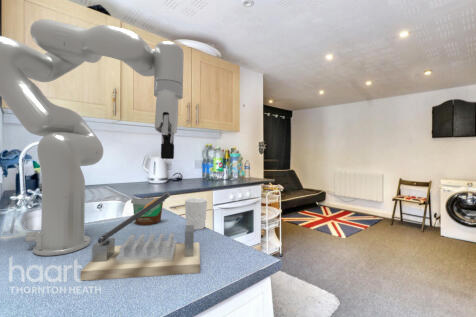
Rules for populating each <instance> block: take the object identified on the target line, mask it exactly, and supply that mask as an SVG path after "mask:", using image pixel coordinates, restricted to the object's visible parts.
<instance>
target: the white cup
mask: <svg viewBox="0 0 476 317" xmlns="http://www.w3.org/2000/svg"><path fill="white" fill-rule="evenodd" d="M184 204H185V206H184V207H185V208H184V209H185V210H184V211H185V213H184V214H185V222H186V223H185V224H186V225H194V231H198V230H197V229H199V230H203V229H204V228H206V219H207V210H208V209H207V207H208V206H207V205H208V199H206V198H205V197H204V198H202V197H191V198H186V199H185V200H184ZM186 225H185V226H186Z"/></svg>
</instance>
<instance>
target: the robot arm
mask: <svg viewBox="0 0 476 317" xmlns="http://www.w3.org/2000/svg"><path fill="white" fill-rule="evenodd" d="M29 33H30V36H31V38H32V40H33V42H34V43H35V44H36V45H37V46H38V47H39V48H41V49H42V50H44V51H45V53H42V52H40V51H38V50H36V49H35V48H32V47H30V46H28V45H27V44H25V43H22V42H20V41H19V40H16V39H14V38H11V37H7V36H3V35H0V97H1V98H2V100H3V101H4V102H5V104H6V105H7V107H8V108H9V109H10V111H11V112H12V113H13V115H14V116H15V117H16V118H17V120H18V121H19V123H21V126H23V128H24V129H25V130H26V131H27V132H29V133H30V134H32V135H34V136H38V137H42V138H41V139H40V140H39V142H38V144H37V149H36V150H37V151H36V152H37V157H38V162H39V166H40V167H39V168H40V173H41V220H40V221H41V229H40V230H41V231H40V232H38V231H37V232H33V231H32V232H28V233H27V234H26V236H25V242H27V243H32V242H35V243H36V244H35V245H34V246H33V249H32V253H34V255H37V256H42V257H43V256H46V257H48V256H49V257H50V256H60V255H65V254H70V253H73V252H76V251H78V250H82V249H84V248H86V247H87V246H89V245H90V244H91V237H90V236H88V235H85V217H86V216H85V212H86V211H85V210H86V209H85V208H86V207H85V206H86V203H85V202H86V182H85V177H84V173H83V170H82V168H81V167H87V166H94V165H97V164H98V163H99V162H100V161H101V160H102V158H103V156H104V147H103V144H102V142H101V141H100V139H99V138H98V136H97V135H96V134H95V133H94V131H93V129H92V128H90V126H89V124H87V122H86V121H85V120H84V118H83V116H81V115H80V114H79V113H77V112H76V111H74V110H72V109H69V108H67V107H63V106H59V105H57V104H54V103H53V102H51V101H50V100H49V99H48V97H46V96H45V95H44V93H43V91H42V90H41V89H40V88H39V87H38V86H37V84H35V83H34V82H33V81H36V82H39V83H50V82H54V81H56V80H58V79H59V78H61V77H63V76H64V75H66V74H68V73H70V72H71V71H72V70H74V69H76V68H78V67H79V66H81V65H83V64H84V63H85V62H87V63H90V64H95V63H97V62H99V61H100V60H101V59H102V57H107V58H111V59H114V60H118V61H121V62H123V63H124V64H125V65H127V66H128V67H129V68H131V69H132V70H133V71H135V72H136V74H138V75H140V76H142V77H154V80H153V96H154V97H155V98H156V100H155V114H154V115H155V116H154V130H155V131H156V132H157V133H159V134H161V144H160V159H162V160H173V159H174V158H175V144H174V141H175V140H174V138H175V134H177V133H178V121H179V101H180V100H182V99H183V98H184V50H183V47H181V45H179V44H178V43H176V42H172V41H169V40H166V41H165V40H164V41H159V42H157V43H156V44H155V47H154V48H153V47H150V45H149V44H148V43H147V42H146V41H145V40H144V39H143V38H142V37H141V36H140V35H139V34H137V33H136V32H134V31H131V30H128V29H125V28H121V27H117V26H113V25H108V24H99V25H95V26H92V27H90V28H86V27H83V26H78V25H73V24H69V23H66V22H61V21H57V20H53V19H43V18H41V19H38V20H35V21H33V23H32V24H31V25H30V32H29ZM32 80H33V81H32Z"/></svg>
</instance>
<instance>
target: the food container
mask: <svg viewBox="0 0 476 317" xmlns="http://www.w3.org/2000/svg"><path fill="white" fill-rule="evenodd" d="M155 198H156V197H142V198H137V197H134V196H132V198H131V200H130V203H131V204H132V208H133V215H134V214H136V213H137V212H139V211H140V210H142V209H143V208H144V206H145V205H146V204H148V203H149V202H151V201H152V200H154V199H155ZM165 201H166V199H165V200H164V201H162V202H161V203H159V204H158V205H157V206H155V207H154V208H152V209H151V210H149V211H148V212H146V213H145V214H143V215H142V216H140V217H139V218H137V219H136V220H134V221H133V222H134V224H135V225H137V226H153V224H154V225H157V224H160V223H161V220H162V213H163V207H164V206H163V205H164V202H165Z"/></svg>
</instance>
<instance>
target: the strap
mask: <svg viewBox="0 0 476 317" xmlns="http://www.w3.org/2000/svg"><path fill="white" fill-rule="evenodd" d="M170 196H171V193H170V192H169V191H167V192H166V193H164V194H163V195H161V196H160V197H154V198H155V199H154V200H152V201H151V202H149V203H148V204H146V205H145V206H144V208H143V209H142V210H140V211H139V212H137V213H136V214H134V213H133V214H132V215H131V216H130V217H128V218H127V219H125V220H123V221H122V222H121V223H119V224H118V225H117V226H115V227H113V228H112V229H110V230H108V231H107V232H105V233H104V234H102V235H101V236H100V237H99V238H98V239H97V242H98V243H103V242H104V241H105V240H106V239H108V238H112V236H113V235H116V233H118V232H119V231H120V230H123V229H125V227H127V226H128V225H130V224H131V223H133V222H135V221H134V220H136V219H137V218H139V217H140V216H142V215H143V214H145V213H146V212H148V211H149V210H151V209H152V208H154V207H155V206H157V205H158V204H159V203H161V202H162V201H164V200H165V201H166V200H167V199H168V198H170ZM165 201H164V202H165Z"/></svg>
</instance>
